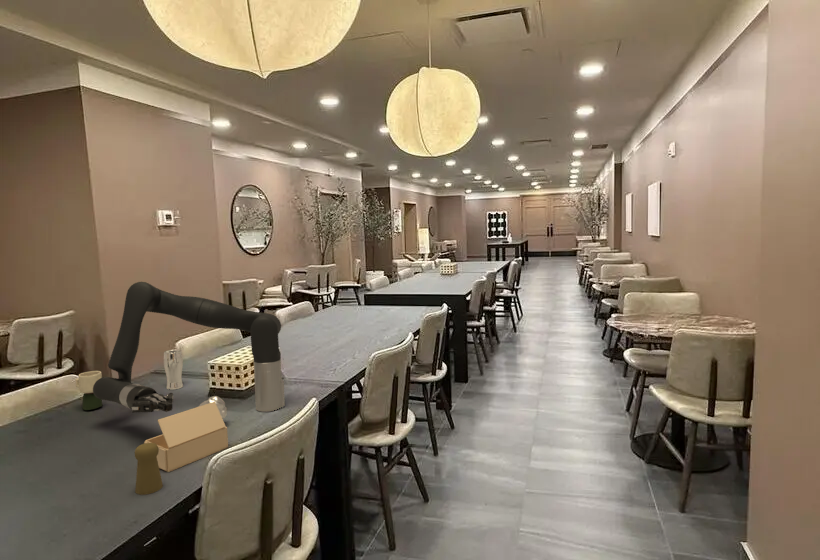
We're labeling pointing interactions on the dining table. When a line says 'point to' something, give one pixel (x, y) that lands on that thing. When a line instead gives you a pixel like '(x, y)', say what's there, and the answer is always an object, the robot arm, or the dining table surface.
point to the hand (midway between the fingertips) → (169, 407)
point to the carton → (189, 449)
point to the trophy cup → (89, 389)
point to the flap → (191, 424)
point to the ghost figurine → (219, 403)
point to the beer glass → (173, 368)
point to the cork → (147, 469)
